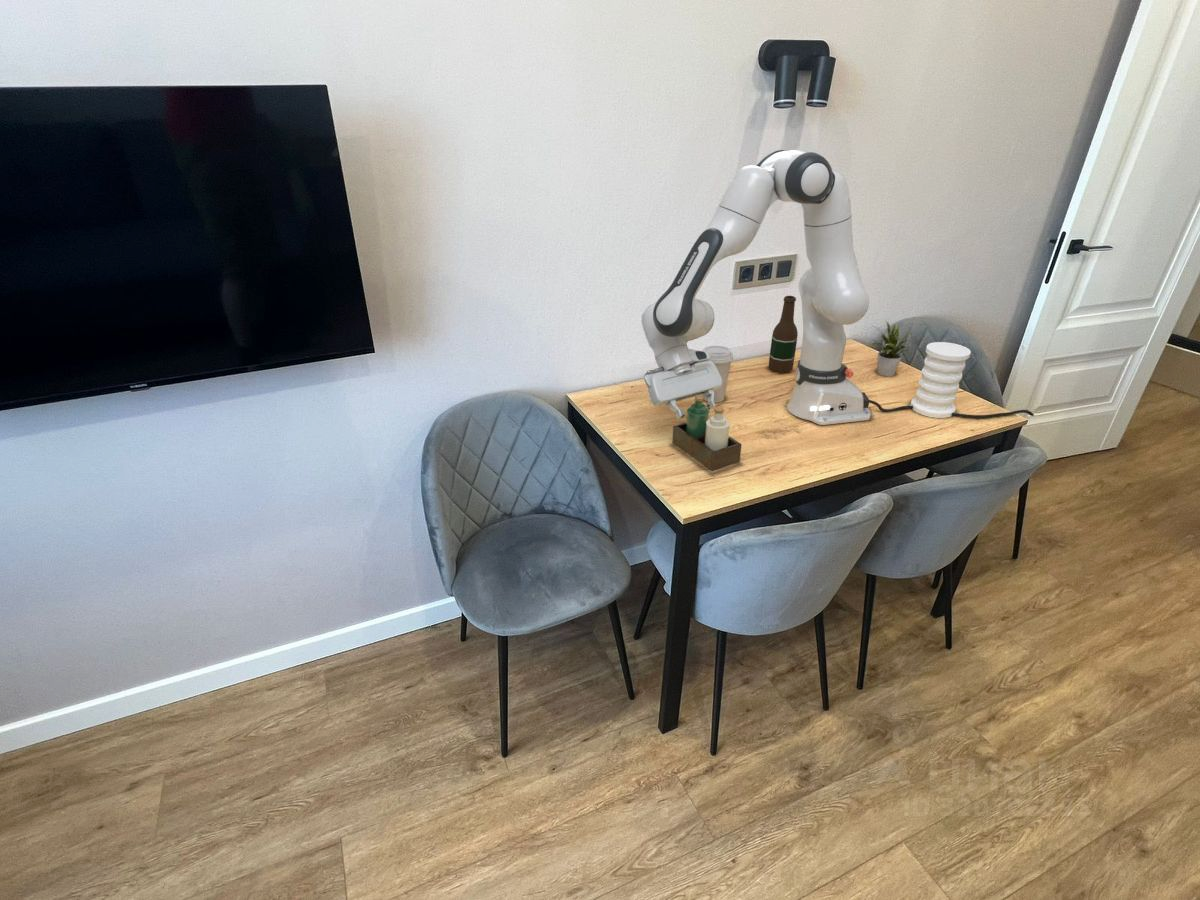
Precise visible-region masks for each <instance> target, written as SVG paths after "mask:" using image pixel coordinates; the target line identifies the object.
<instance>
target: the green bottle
mask: <svg viewBox="0 0 1200 900" xmlns="http://www.w3.org/2000/svg"><path fill="white" fill-rule="evenodd" d="M703 401H704V399H703V396H702V394H701V395H696V396H694V403H691V405H690V406H689V407H688V408H687V409H686V415H685V418H686V419H685V422H686V432H687V433H688V434H690V435H691V436H693V437H694V438H695V437H698V436H701V435H704V434H705V432H706V422H707V420H709V419H710V410H709V409H707V407H706V405H705V404H704V403H703Z"/></svg>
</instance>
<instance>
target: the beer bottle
mask: <svg viewBox="0 0 1200 900" xmlns="http://www.w3.org/2000/svg"><path fill="white" fill-rule="evenodd" d="M782 301H783V305H782V310H781V315H780V320H779V322H778V323H777V324H776V325H775V326H774V329H773V330H772V335H771V341H770V351H769V358H768V369H769V370H770V371H771V372H772V373H775V374H780V375H781V374H789V373H791V371H793V369H794V363H795V358H796V350H797V343H798V334H799V332H798V328H797V326H796V324H795V318H794V317H795V305H796V301H797V298H796V297H795V296H793V295H786V296H784V297H783V300H782Z"/></svg>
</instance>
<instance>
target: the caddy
mask: <svg viewBox="0 0 1200 900" xmlns="http://www.w3.org/2000/svg"><path fill="white" fill-rule="evenodd" d="M672 444H673V445H674V446H675V447H677V448H679V450H682V452H684V453H686V454H687V455H689V456H690V457H691V458H693V459H694V460H696V461H697V462H698V463H700V464H701V465H702V466H704V467H705V468H707V469H708V470H709V471H711V472H715V471H718V470H721V469H724V468H726V467H730V466H732V465H735V464H738V463H740V462H741V453H742V445H743V444H742V443H740V441H738V440H736V439H735V438H733V437H731V436H730V435H729V438H728V447H725V448H722V449H719V450H716V451H713V450H712V449H710V448H709V447H707V446H706V445H705V434H704V435H701V436H698V437H695V438H694V437H693V436H691V435H690V434H688V433H687V432H686V421H685V422H681V423H677V424H675V425H673V427H672Z"/></svg>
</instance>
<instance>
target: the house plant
mask: <svg viewBox="0 0 1200 900" xmlns="http://www.w3.org/2000/svg"><path fill="white" fill-rule="evenodd" d="M885 323H886V326H887V327H886V328H887V336H888V337H886V335H884V334H883V333H882V331H880V329H878V327H877V326H874V325H872V327H873V328H875V330H876V331H879V334H880V337H881V338H882V341H883V342H884V344H882V343H880V342H877V341H876V340H874V339H872V338H870V340H871V341H873V343H871V346H876V345H877V346H878V347H879V348H880V351H879V352H878V353H877V368H876V369H877V370H876V372H877V374H878V375H880V376H884V377H893V376H895V374H896V372H897V369H898V367H899V365H900V363H901V361H902V358H903V355H902V354H901V353H903V352H905V351H906V352H907V351H909V352H911V349H907V347H906V346H904V345H903V344H905V343H906V342H908V340H906V339H907V337H908V336H909V335H910V334H911V333H912V330H911V331H910V332H908V334H906V335H905V336H904V337H903V338H902V339H901V340H900V341H899V335H900V327H899V326H898V325H897V324H896V323H894V324H893V325H892V327H891V325H890V323H889V322H888V321H887V320H885ZM891 328H892V329H891ZM915 336H916V337H917V336H918V334H914V335H910V336H909V337H908V339H910V338H911V337H915ZM898 341H899V343H898ZM903 349H904V350H903Z"/></svg>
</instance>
